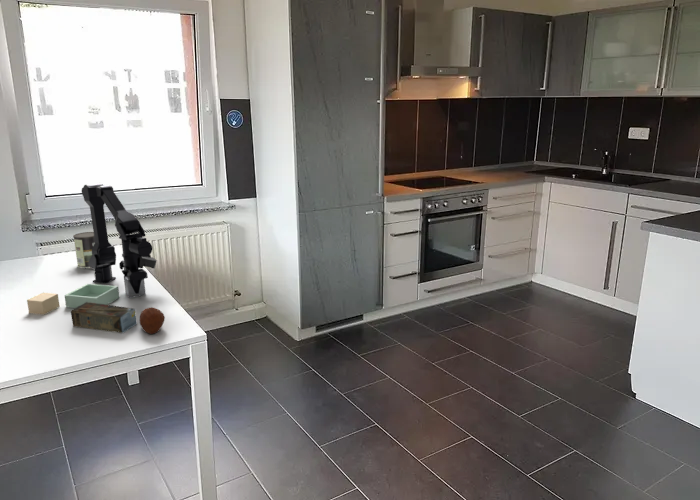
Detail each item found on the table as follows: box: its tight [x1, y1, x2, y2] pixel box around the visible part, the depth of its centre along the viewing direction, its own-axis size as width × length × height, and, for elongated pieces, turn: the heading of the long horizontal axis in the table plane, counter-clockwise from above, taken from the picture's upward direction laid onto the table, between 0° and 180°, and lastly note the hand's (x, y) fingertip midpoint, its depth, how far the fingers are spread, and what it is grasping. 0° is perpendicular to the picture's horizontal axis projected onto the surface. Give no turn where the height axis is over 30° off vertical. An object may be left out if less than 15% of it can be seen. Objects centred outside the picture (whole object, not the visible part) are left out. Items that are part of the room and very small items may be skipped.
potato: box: [139, 306, 166, 335], centre depth 171 cm, size 8×12×8 cm, turn 38°
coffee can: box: [73, 231, 95, 269], centre depth 235 cm, size 10×10×14 cm
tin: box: [123, 275, 147, 299], centre depth 202 cm, size 6×6×7 cm
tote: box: [64, 283, 120, 309], centre depth 194 cm, size 13×13×4 cm
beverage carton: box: [70, 302, 138, 334], centre depth 174 cm, size 8×19×7 cm, turn 76°
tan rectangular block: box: [26, 292, 60, 315], centre depth 187 cm, size 8×6×5 cm
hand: (135, 291), depth 203 cm, fingers closed on tin, 6 cm apart
